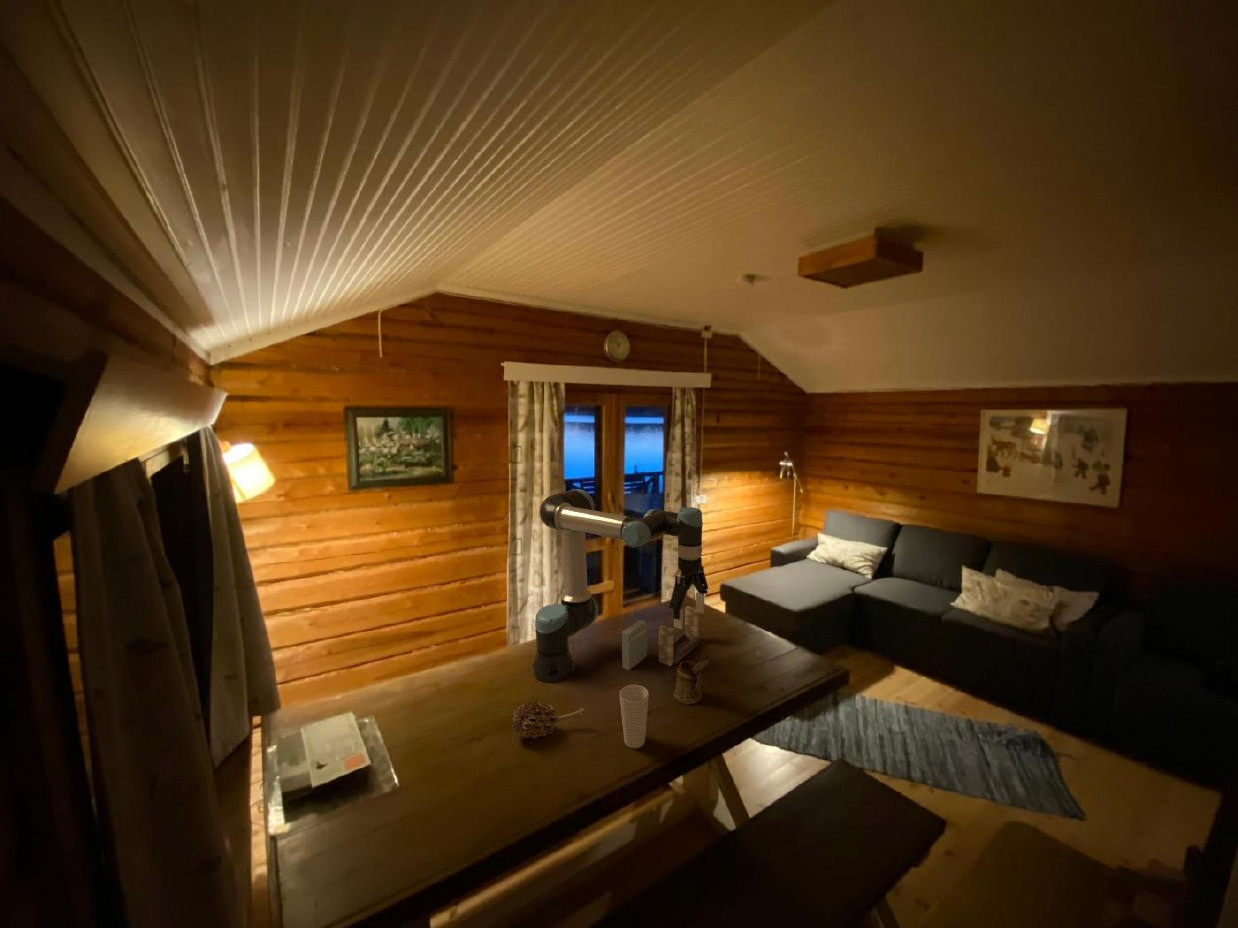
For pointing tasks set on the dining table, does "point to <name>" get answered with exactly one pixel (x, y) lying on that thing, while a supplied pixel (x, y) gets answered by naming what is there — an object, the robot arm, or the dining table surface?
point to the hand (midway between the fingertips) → (689, 619)
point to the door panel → (634, 644)
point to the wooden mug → (689, 682)
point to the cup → (634, 714)
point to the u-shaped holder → (679, 639)
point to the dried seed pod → (538, 719)
